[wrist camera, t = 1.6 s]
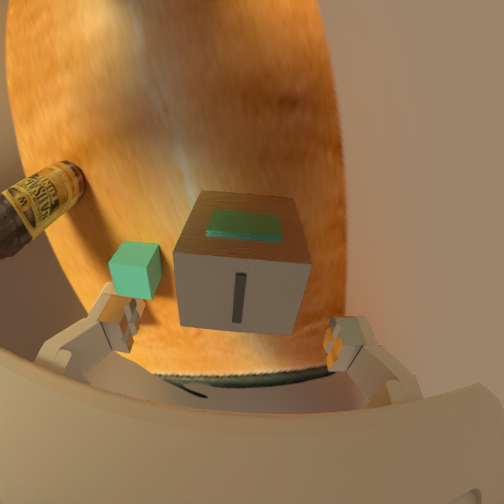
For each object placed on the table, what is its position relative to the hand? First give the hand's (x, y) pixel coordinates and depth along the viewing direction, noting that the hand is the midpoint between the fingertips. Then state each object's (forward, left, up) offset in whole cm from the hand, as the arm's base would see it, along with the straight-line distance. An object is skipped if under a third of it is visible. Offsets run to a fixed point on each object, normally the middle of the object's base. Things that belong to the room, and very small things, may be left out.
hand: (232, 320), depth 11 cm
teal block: (+13, -13, -20) cm, 27 cm away
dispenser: (+7, 0, -20) cm, 21 cm away
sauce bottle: (+2, -23, -20) cm, 31 cm away
